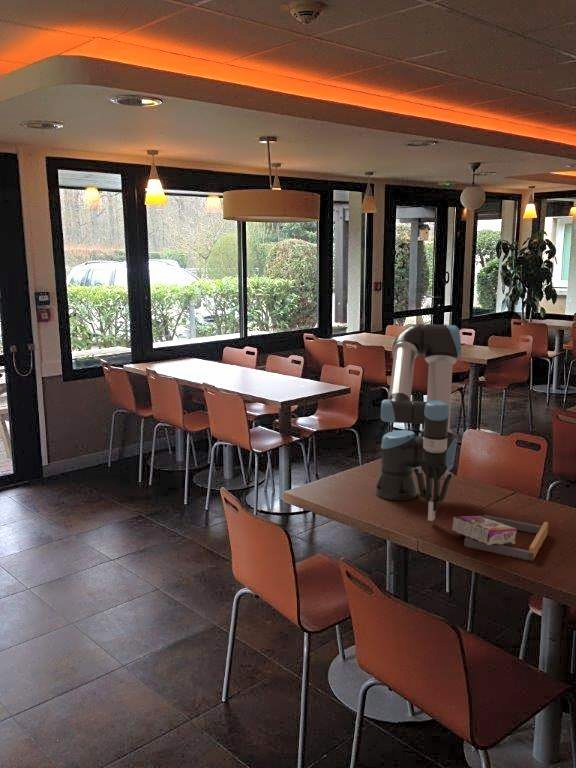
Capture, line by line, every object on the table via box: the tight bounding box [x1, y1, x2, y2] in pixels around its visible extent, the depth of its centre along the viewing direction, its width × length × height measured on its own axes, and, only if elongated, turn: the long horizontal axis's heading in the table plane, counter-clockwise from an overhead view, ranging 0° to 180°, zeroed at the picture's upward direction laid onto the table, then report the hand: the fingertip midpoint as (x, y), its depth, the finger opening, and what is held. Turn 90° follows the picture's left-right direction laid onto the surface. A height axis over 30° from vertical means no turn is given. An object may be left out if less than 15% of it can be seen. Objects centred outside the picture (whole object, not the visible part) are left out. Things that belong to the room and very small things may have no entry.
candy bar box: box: [451, 515, 518, 545], centre depth 209 cm, size 11×5×16 cm
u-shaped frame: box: [463, 514, 549, 562], centre depth 211 cm, size 20×22×4 cm
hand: (431, 519), depth 223 cm, fingers closed
